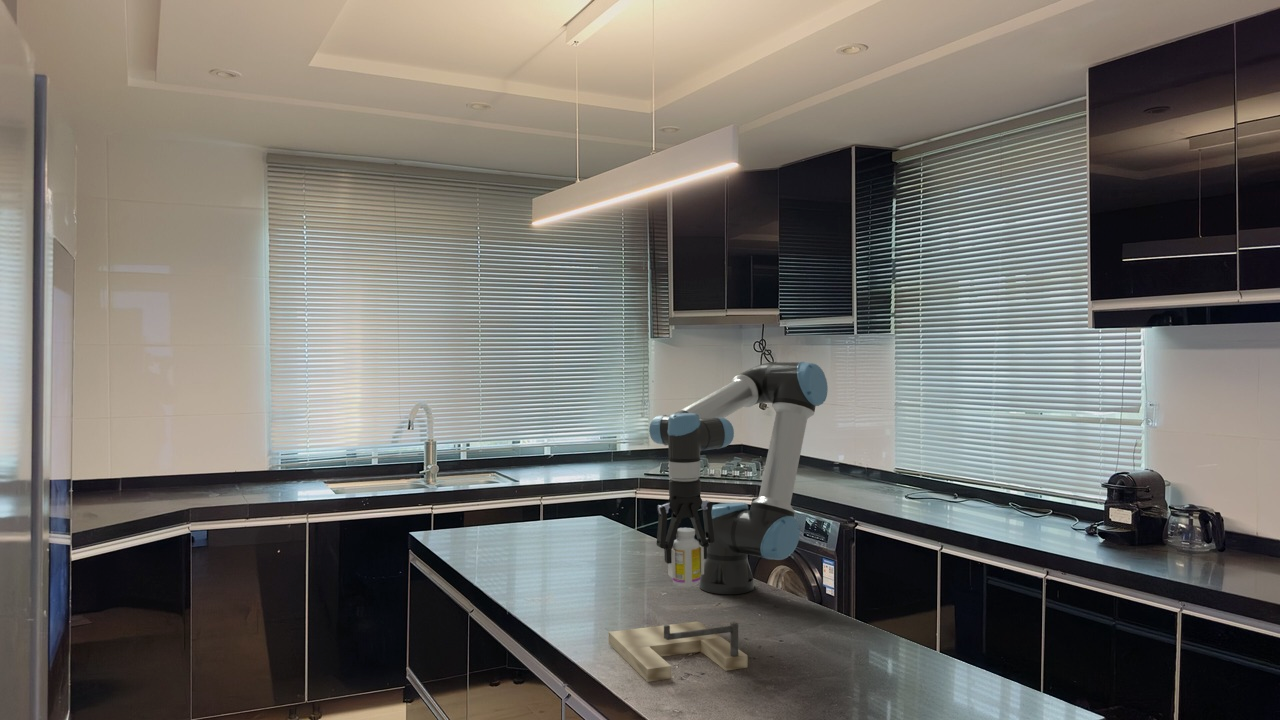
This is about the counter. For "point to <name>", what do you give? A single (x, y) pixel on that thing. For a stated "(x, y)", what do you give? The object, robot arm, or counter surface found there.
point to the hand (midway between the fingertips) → (686, 574)
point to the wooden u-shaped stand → (676, 647)
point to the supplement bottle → (686, 558)
